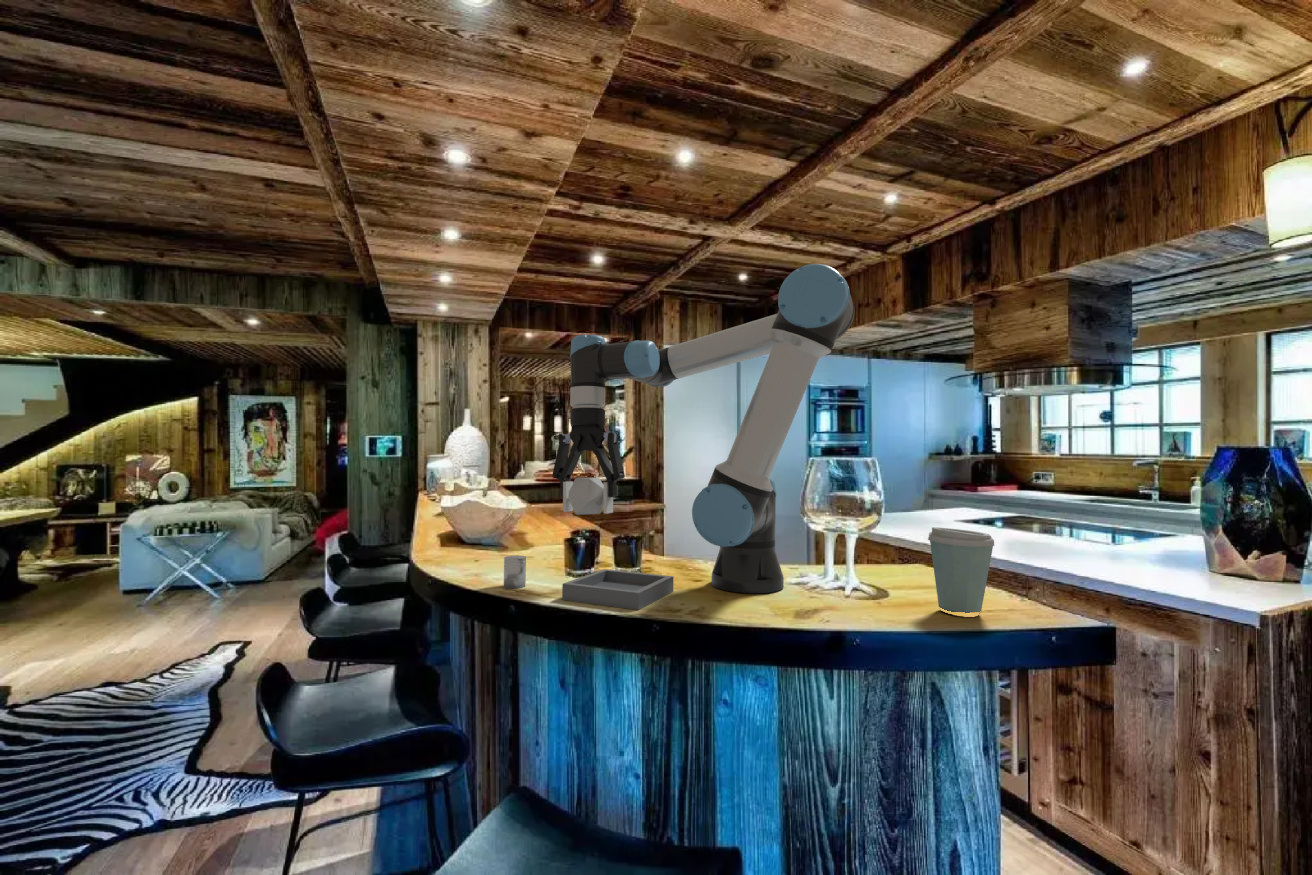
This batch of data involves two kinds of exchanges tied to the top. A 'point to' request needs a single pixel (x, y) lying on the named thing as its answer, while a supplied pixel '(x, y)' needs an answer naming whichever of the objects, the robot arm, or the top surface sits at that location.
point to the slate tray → (618, 589)
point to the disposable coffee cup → (960, 567)
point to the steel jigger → (514, 572)
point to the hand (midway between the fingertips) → (587, 512)
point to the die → (586, 496)
